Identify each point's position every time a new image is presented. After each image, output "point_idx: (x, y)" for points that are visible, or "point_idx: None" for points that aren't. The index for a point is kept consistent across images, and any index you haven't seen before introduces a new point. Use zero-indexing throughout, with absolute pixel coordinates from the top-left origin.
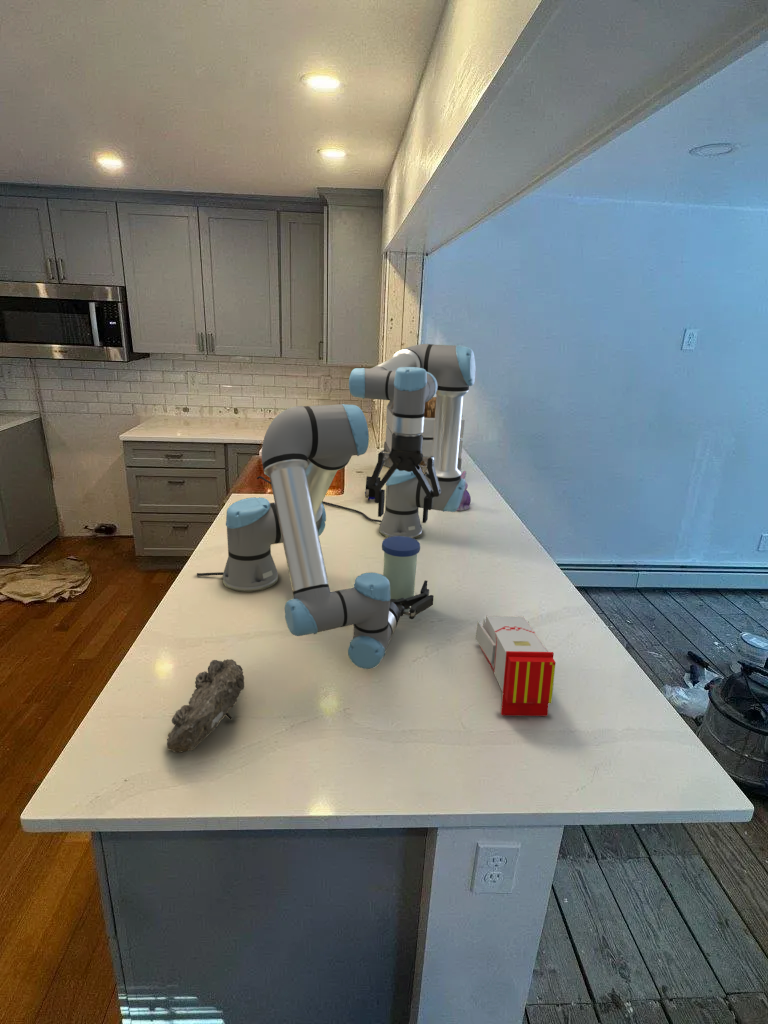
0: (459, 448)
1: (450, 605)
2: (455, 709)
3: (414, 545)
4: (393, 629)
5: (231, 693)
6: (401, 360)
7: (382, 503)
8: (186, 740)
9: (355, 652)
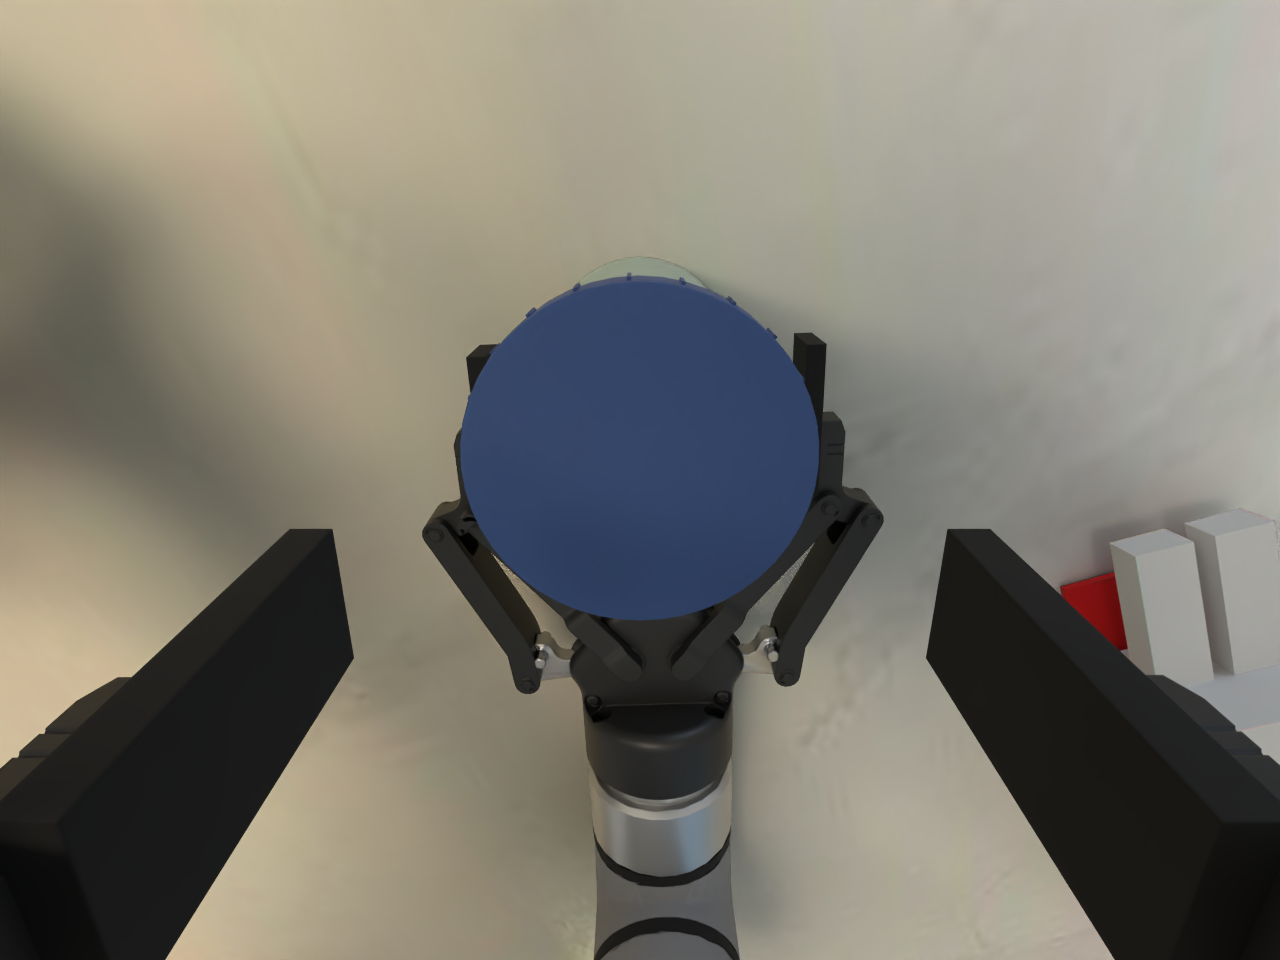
0: None
1: (926, 266)
2: (959, 897)
3: (770, 468)
4: (731, 810)
5: None
6: None
7: (258, 727)
8: None
9: None
